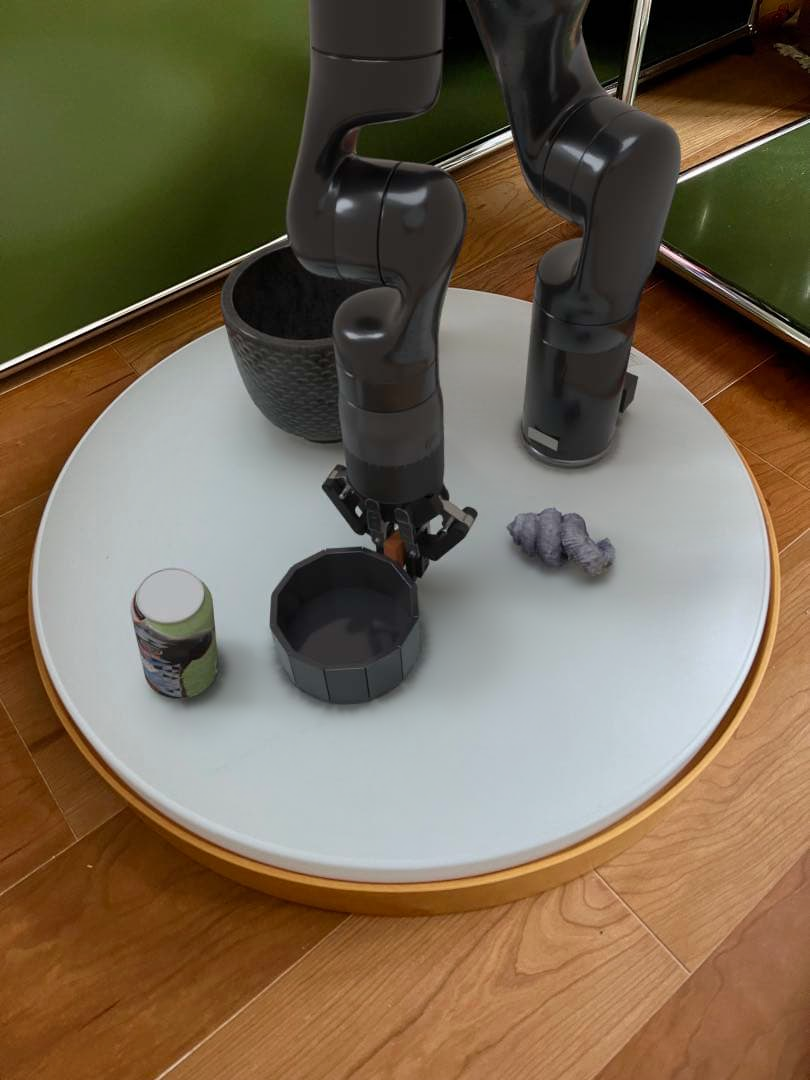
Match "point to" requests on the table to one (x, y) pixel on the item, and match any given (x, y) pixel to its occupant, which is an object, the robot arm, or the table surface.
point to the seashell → (560, 540)
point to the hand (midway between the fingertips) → (403, 568)
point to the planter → (287, 340)
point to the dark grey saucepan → (347, 622)
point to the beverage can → (175, 632)
